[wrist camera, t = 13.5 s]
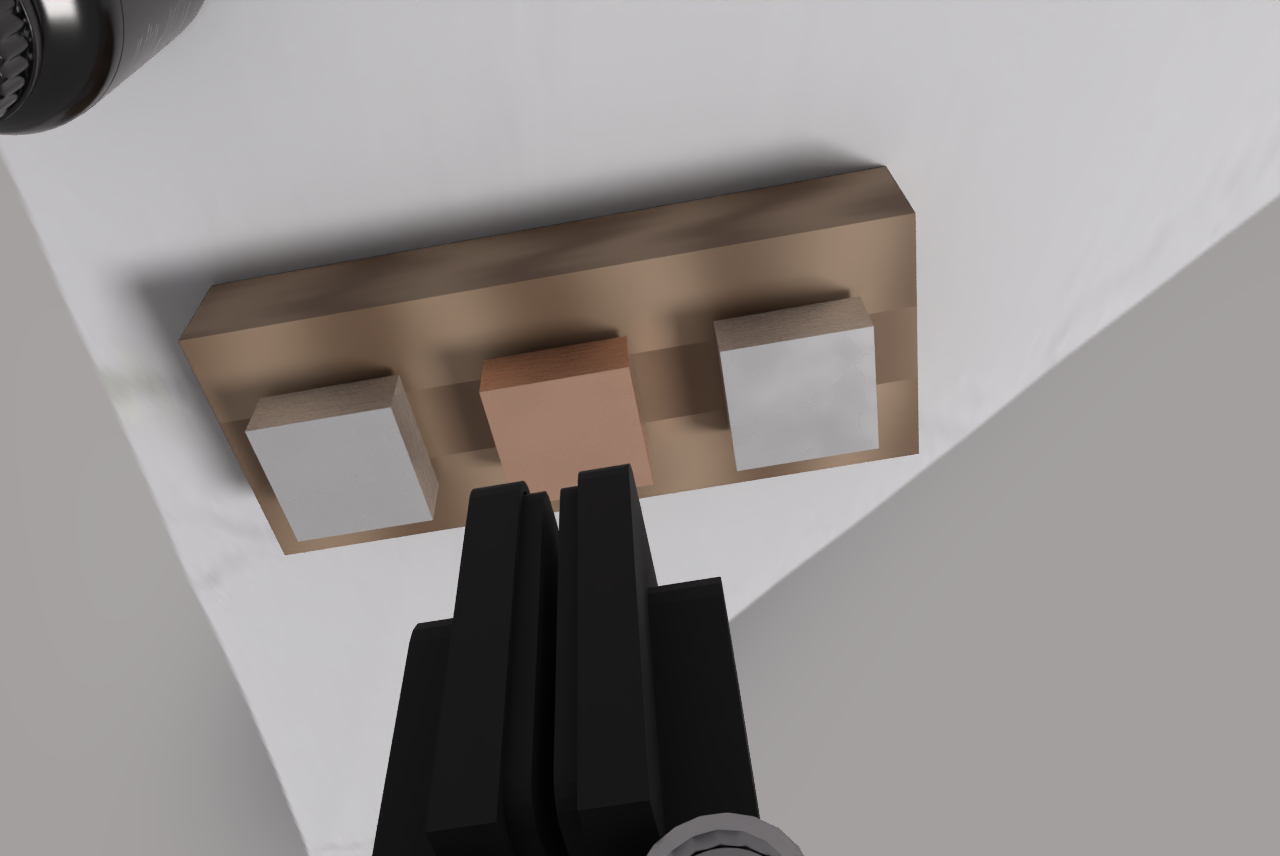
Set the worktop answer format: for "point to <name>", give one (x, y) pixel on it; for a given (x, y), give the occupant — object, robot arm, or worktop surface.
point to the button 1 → (345, 458)
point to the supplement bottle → (76, 54)
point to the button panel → (572, 327)
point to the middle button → (566, 414)
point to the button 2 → (799, 383)
